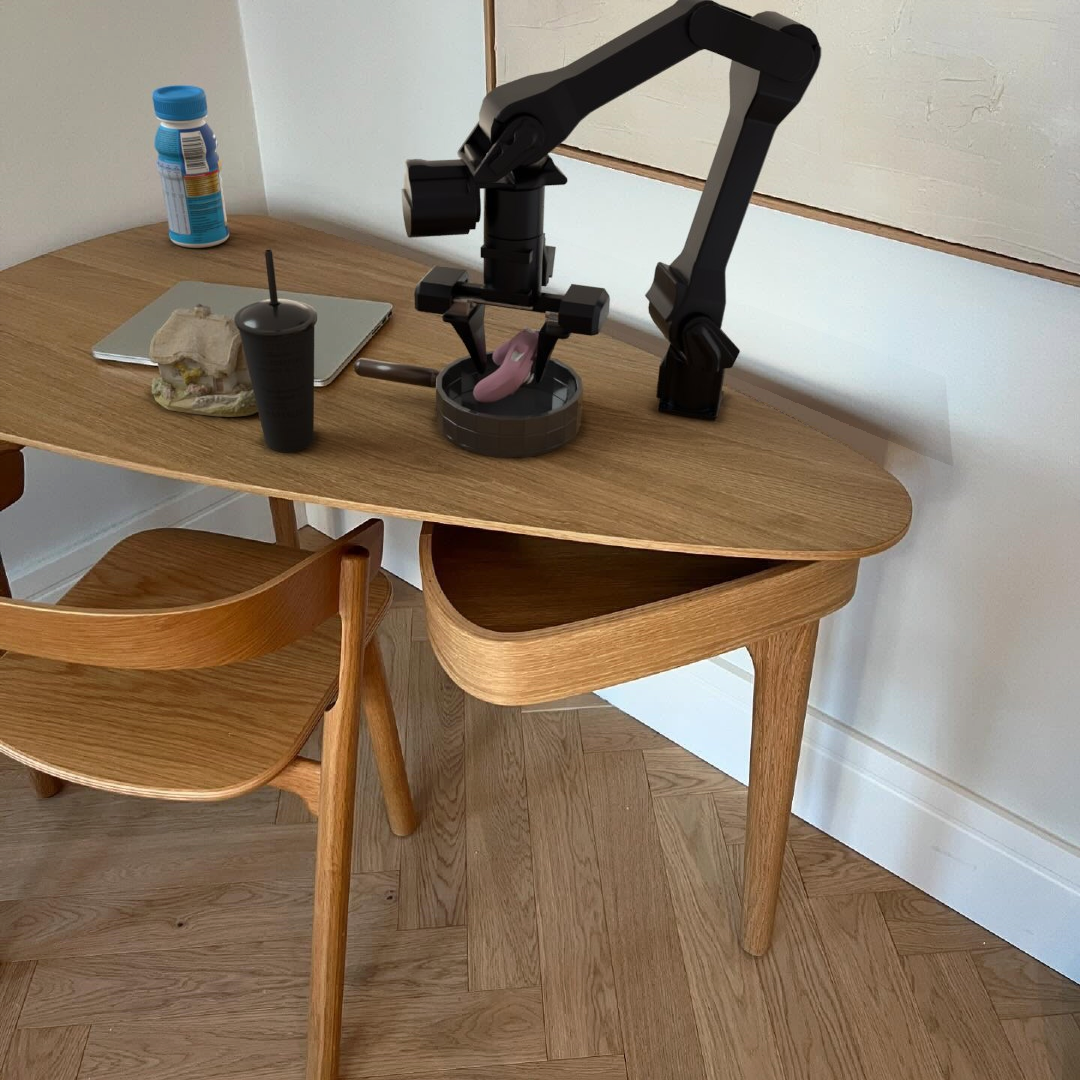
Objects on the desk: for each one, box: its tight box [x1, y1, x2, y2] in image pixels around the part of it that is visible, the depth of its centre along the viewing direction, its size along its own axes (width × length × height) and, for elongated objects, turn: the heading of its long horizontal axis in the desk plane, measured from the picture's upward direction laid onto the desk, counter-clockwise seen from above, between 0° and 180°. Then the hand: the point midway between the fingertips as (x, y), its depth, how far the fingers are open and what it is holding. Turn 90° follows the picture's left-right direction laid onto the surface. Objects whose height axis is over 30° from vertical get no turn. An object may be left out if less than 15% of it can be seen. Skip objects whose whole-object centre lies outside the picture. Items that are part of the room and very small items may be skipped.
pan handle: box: [353, 357, 441, 389], centre depth 116 cm, size 10×2×2 cm, turn 75°
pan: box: [435, 350, 584, 459], centre depth 115 cm, size 15×15×4 cm
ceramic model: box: [148, 303, 258, 418], centre depth 116 cm, size 14×11×10 cm
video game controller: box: [473, 326, 540, 403], centre depth 112 cm, size 10×5×7 cm, turn 168°
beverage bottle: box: [151, 84, 230, 249], centre depth 149 cm, size 8×8×20 cm
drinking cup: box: [233, 249, 318, 453], centre depth 105 cm, size 8×8×20 cm
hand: (510, 377), depth 113 cm, fingers closed on video game controller, 6 cm apart
